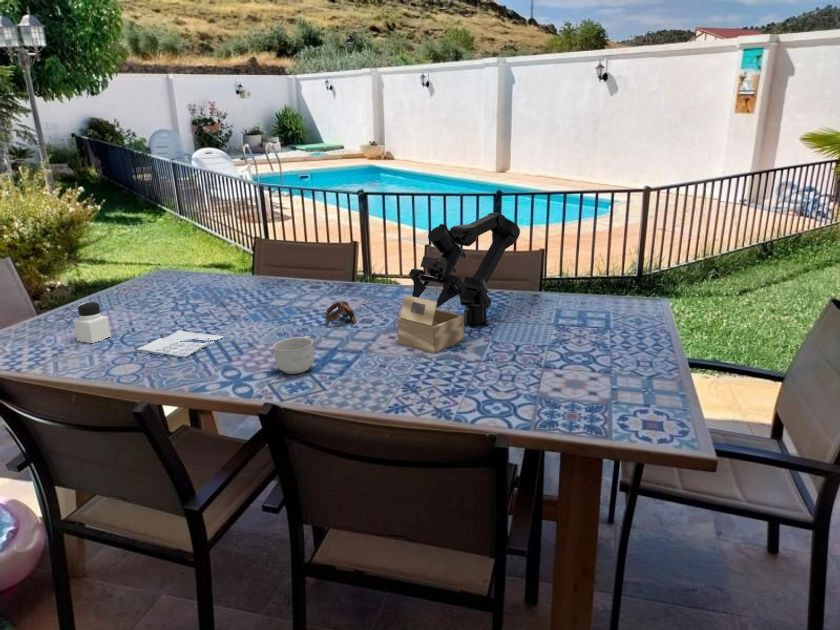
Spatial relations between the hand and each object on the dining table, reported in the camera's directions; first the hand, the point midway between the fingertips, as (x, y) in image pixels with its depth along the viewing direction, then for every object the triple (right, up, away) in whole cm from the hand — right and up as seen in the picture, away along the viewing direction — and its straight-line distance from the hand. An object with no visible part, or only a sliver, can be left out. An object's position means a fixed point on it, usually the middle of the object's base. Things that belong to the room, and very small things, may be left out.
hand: (424, 304), depth 188 cm
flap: (-2, -2, -1) cm, 3 cm away
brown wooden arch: (-28, -6, +27) cm, 39 cm away
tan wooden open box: (+2, -12, +6) cm, 13 cm away
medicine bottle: (-105, -11, +14) cm, 107 cm away
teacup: (-35, -18, -12) cm, 41 cm away
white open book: (-75, -13, +8) cm, 76 cm away
